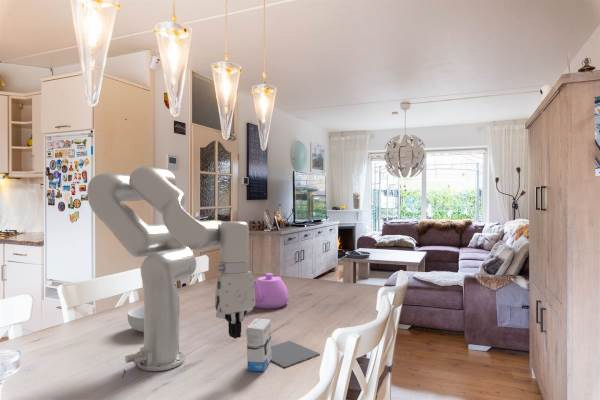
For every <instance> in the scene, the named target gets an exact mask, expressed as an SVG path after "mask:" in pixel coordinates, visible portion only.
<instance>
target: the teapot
mask: <svg viewBox="0 0 600 400" xmlns="http://www.w3.org/2000/svg"><path fill="white" fill-rule="evenodd" d="M253 281H254V289H255V306H254V307H253V308H258V309H266V310H271V309H273V310H274V309H278V308H279V309H280V308H283V307H285V305H287V303H288V302H289V299H290V296H289V291H288V288H287V286H286V285H285V283H284V280H283V278H282V277H281V276H278V275H277V276H274V273H271V272H268V273H265V275H264V276H259V277H258V278H256V280H254V279H253Z"/></svg>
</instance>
